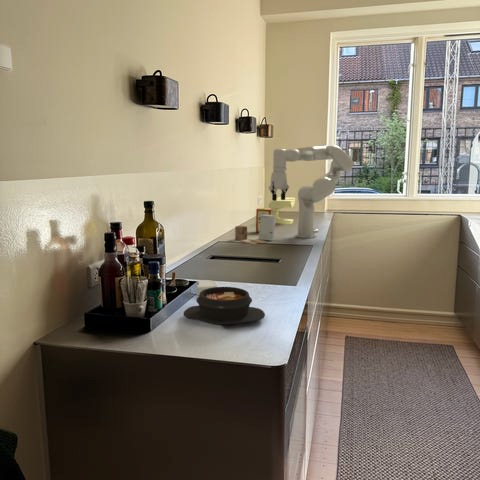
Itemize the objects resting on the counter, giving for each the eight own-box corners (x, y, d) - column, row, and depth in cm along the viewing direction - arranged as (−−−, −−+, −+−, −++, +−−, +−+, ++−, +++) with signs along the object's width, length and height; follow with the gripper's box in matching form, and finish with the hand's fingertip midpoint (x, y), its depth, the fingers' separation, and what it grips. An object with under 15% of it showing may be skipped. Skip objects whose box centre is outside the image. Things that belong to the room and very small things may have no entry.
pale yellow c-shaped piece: (274, 219, 370) (275, 197, 367) (294, 220, 366) (295, 197, 363) (268, 224, 341) (268, 200, 338) (289, 225, 338) (290, 201, 335)
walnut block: (240, 238, 282) (240, 225, 280) (247, 239, 278) (247, 226, 277) (235, 239, 278) (235, 226, 276) (241, 240, 275) (241, 227, 273)
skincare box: (258, 239, 276) (259, 214, 274) (261, 238, 282) (262, 214, 280) (272, 240, 274) (273, 215, 272) (274, 239, 280) (276, 215, 277)
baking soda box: (272, 232, 307) (272, 208, 304) (270, 233, 301) (270, 209, 298) (258, 231, 310) (258, 207, 307) (256, 232, 303) (256, 208, 301)
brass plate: (255, 239, 280) (255, 238, 280) (268, 242, 271) (268, 241, 271) (239, 241, 273) (239, 240, 273) (252, 244, 264) (252, 243, 264)
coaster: (199, 298, 164) (199, 288, 163) (185, 291, 172) (185, 282, 171) (222, 293, 170) (222, 284, 169) (208, 287, 178) (208, 278, 177)
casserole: (177, 328, 134) (177, 300, 133) (189, 308, 152) (189, 283, 151) (264, 332, 132) (264, 304, 131) (265, 310, 151) (266, 285, 149)
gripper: (285, 169, 284) (284, 199, 287) (264, 170, 274) (263, 200, 277) (294, 170, 278) (293, 200, 282) (272, 170, 268) (272, 201, 271)
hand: (278, 199), depth 279 cm, fingers open, 6 cm apart
